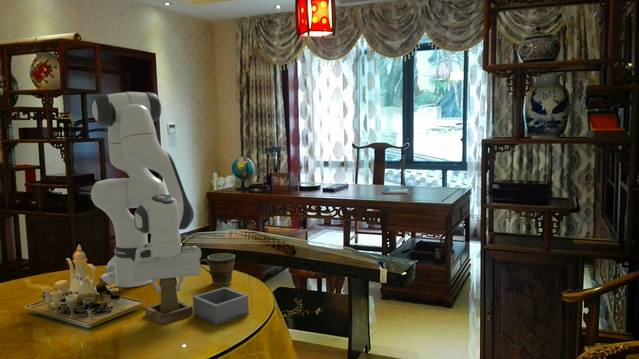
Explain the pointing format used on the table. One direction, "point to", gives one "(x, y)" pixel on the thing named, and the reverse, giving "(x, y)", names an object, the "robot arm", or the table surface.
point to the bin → (220, 305)
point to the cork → (168, 295)
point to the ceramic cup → (220, 268)
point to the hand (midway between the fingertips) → (168, 291)
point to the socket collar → (168, 317)
